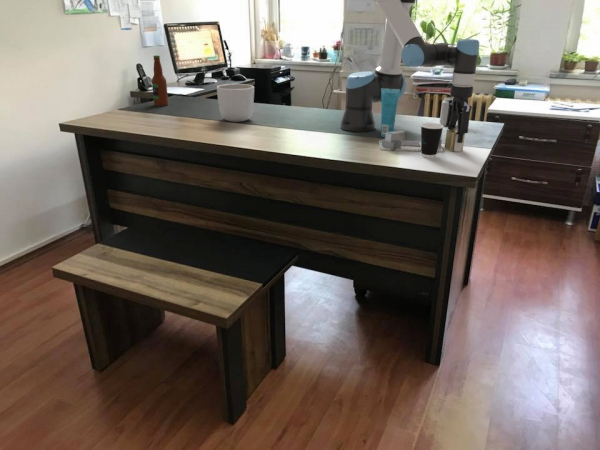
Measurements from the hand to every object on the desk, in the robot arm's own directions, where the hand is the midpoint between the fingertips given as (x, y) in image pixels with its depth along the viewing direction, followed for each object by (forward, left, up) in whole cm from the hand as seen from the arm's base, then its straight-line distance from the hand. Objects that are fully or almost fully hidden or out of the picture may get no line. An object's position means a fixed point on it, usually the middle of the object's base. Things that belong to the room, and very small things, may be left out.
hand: (453, 148), depth 186 cm
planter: (-92, +39, -1) cm, 100 cm away
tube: (-24, +17, -1) cm, 30 cm away
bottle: (-140, +70, -1) cm, 157 cm away
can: (+5, +44, -1) cm, 44 cm away
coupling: (0, 0, 0) cm, 0 cm away
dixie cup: (-11, -11, -1) cm, 15 cm away
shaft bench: (-16, +1, 0) cm, 16 cm away
